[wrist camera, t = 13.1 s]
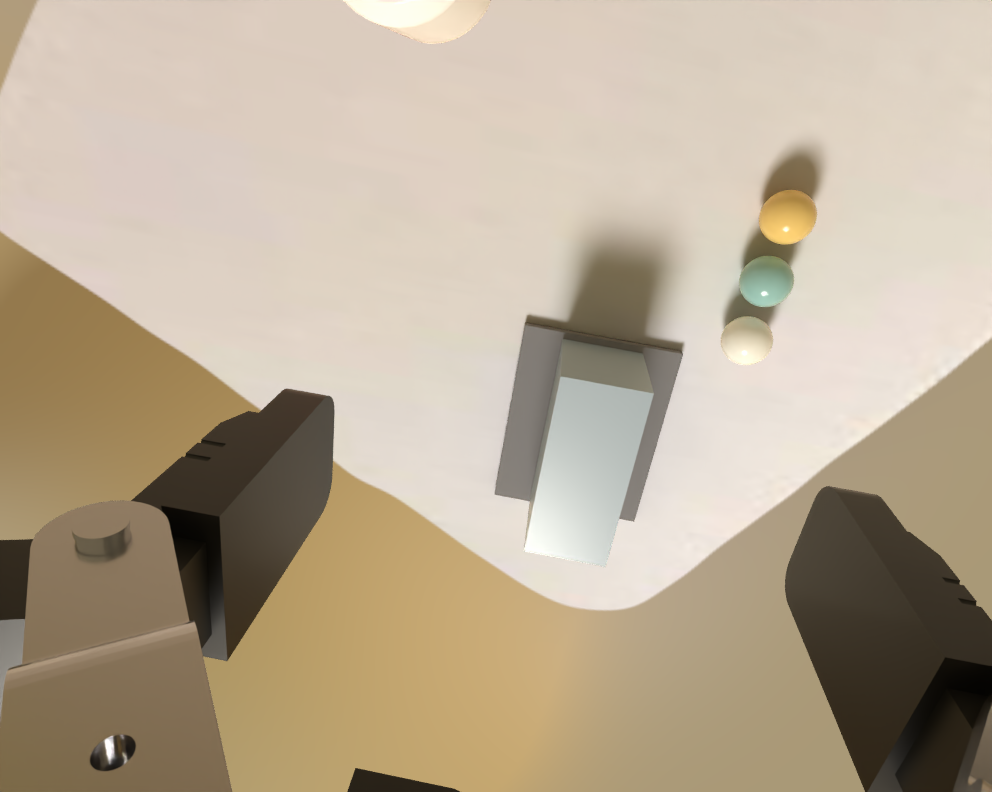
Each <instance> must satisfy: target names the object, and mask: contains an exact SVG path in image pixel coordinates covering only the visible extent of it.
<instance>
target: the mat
mask: <svg viewBox="0 0 992 792" xmlns="http://www.w3.org/2000/svg"><path fill="white" fill-rule="evenodd" d="M563 339H566V340H572V341H577V342H583V343H588V344H594V345H599V346H605V347H610V348H616V349H621V350H627V351H632V352H638V353H643V356H644V359H645V363H646V367H647V370H648V374H649V377H650V381H651V385H652V388H653V392H654V395H653V399H652V402H651V406H650V409H649V413H648V417H647V420H646V424H645V427H644V431H643V435H642V438H641V442H640V445H639V449H638V453H637V456H636V460H635V463H634V467H633V471H632V474H631V478H630V481H629V485H628V489H627V492H626V496H625V499H624V503H623V506H622V510H621V514H620V517H619V519H624V520H629V521H634V520H635V517H636V513H637V510H638V506H639V503H640V499H641V496H642V493H643V489H644V486H645V482H646V479H647V475H648V472H649V469H650V465H651V462H652V458H653V455H654V452H655V448H656V445H657V441H658V438H659V434H660V431H661V428H662V424H663V421H664V417H665V414H666V410H667V407H668V404H669V400H670V397H671V393H672V390H673V387H674V383H675V380H676V376H677V373H678V369H679V366H680V363H681V359H682V356H683V353H682V351H678V350H673V349H667V348H662V347H656V346H651V345H645V344H640V343H634V342H629V341H623V340H618V339H612V338H607V337H601V336H596V335H591V334H585V333H580V332H574V331H569V330H563V329H558V328H552V327H547V326H541V325H536V324H530V323H525V328H524V333H523V339H522V345H521V350H520V356H519V361H518V367H517V372H516V378H515V383H514V389H513V394H512V400H511V406H510V411H509V417H508V422H507V428H506V433H505V439H504V444H503V450H502V455H501V461H500V467H499V472H498V478H497V483H496V489H495V495H500V496H505V497H511V498H516V499H521V500H526V501H530V496H531V491H532V486H533V481H534V476H535V471H536V466H537V462H538V457H539V452H540V447H541V442H542V437H543V433H544V428H545V423H546V418H547V413H548V408H549V403H550V399H551V394H552V389H553V384H554V379H555V374H556V369H557V365H558V360H559V355H560V350H561V345H562V340H563Z"/></svg>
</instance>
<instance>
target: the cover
mask: <svg viewBox="0 0 992 792" xmlns="http://www.w3.org/2000/svg"><path fill="white" fill-rule="evenodd" d="M653 395H654V392H653V388H652V385H651V381H650V377H649V374H648V370H647V367H646V363H645V359H644V356H643V353H638V352H632V351H627V350H621V349H616V348H610V347H605V346H599V345H594V344H588V343H583V342H577V341H572V340H566V339H563V340H562V345H561V350H560V355H559V360H558V365H557V369H556V374H555V379H554V384H553V389H552V394H551V399H550V403H549V408H548V413H547V418H546V423H545V428H544V433H543V437H542V442H541V447H540V452H539V457H538V462H537V466H536V471H535V476H534V481H533V486H532V491H531V496H530V504H529V512H528V521H527V529H526V538H525V546H524V551H526V552H531V553H536V554H541V555H546V556H551V557H556V558H561V559H567V560H572V561H577V562H582V563H587V564H592V565H597V566H602V567H606V564H607V560H608V557H609V553H610V550H611V546H612V542H613V539H614V535H615V532H616V528H617V524H618V521H619V517H620V514H621V510H622V506H623V503H624V499H625V496H626V492H627V489H628V485H629V481H630V478H631V474H632V471H633V467H634V463H635V460H636V456H637V453H638V449H639V445H640V442H641V438H642V435H643V431H644V427H645V424H646V420H647V417H648V413H649V409H650V406H651V402H652V399H653Z"/></svg>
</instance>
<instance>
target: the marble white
mask: <svg viewBox="0 0 992 792" xmlns="http://www.w3.org/2000/svg"><path fill="white" fill-rule="evenodd" d="M772 344H773V336H772V332H771V330H770V328H769V327H768V325H767V324H766V323H765V322H764V321H762V320H761V319H758V318H756V317H752V316H744V317H739V318H736V319H734V320H733V321H731V322H730V323H729V324H728V325H727V326H726V327H725V329H724V330H723V332H722V335H721V347H722V350H723V352H724V354H725V355H726V357H727V358H728V359H730V360H731V361H733V362H734V363H737V364H740V365H752V364H755V363H758V362H760V361H761V360H763V359H764V358H765V357H766V356H767V355H768V354H769V352H770V350H771V348H772Z"/></svg>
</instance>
